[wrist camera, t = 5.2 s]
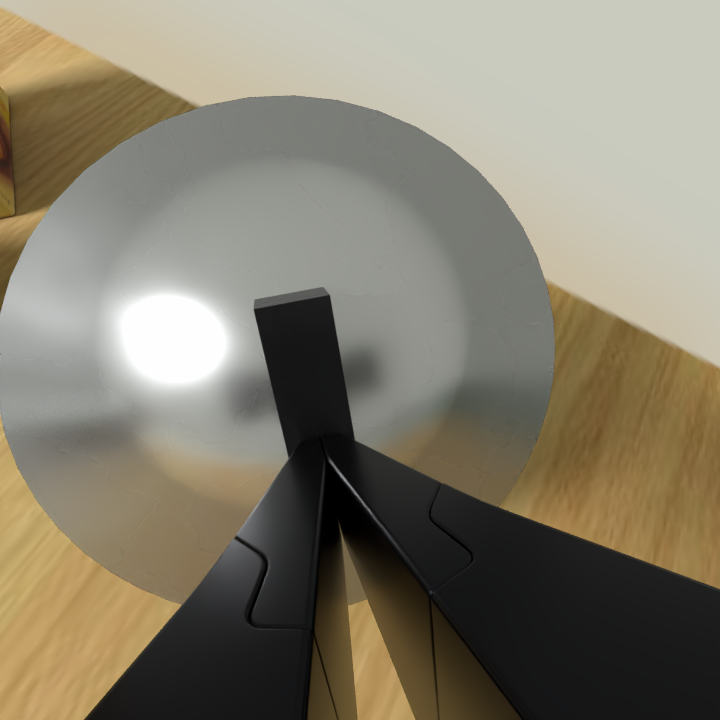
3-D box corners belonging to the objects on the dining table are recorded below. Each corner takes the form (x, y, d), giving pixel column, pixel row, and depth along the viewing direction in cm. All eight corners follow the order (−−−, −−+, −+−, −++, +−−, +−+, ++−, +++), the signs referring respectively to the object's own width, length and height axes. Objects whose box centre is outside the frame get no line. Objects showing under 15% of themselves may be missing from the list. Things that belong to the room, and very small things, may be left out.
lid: (534, 521, 13) (577, 570, 12) (129, 637, 12) (104, 717, 10) (527, 77, 9) (592, 43, 8) (-91, 151, 8) (-205, 129, 6)
